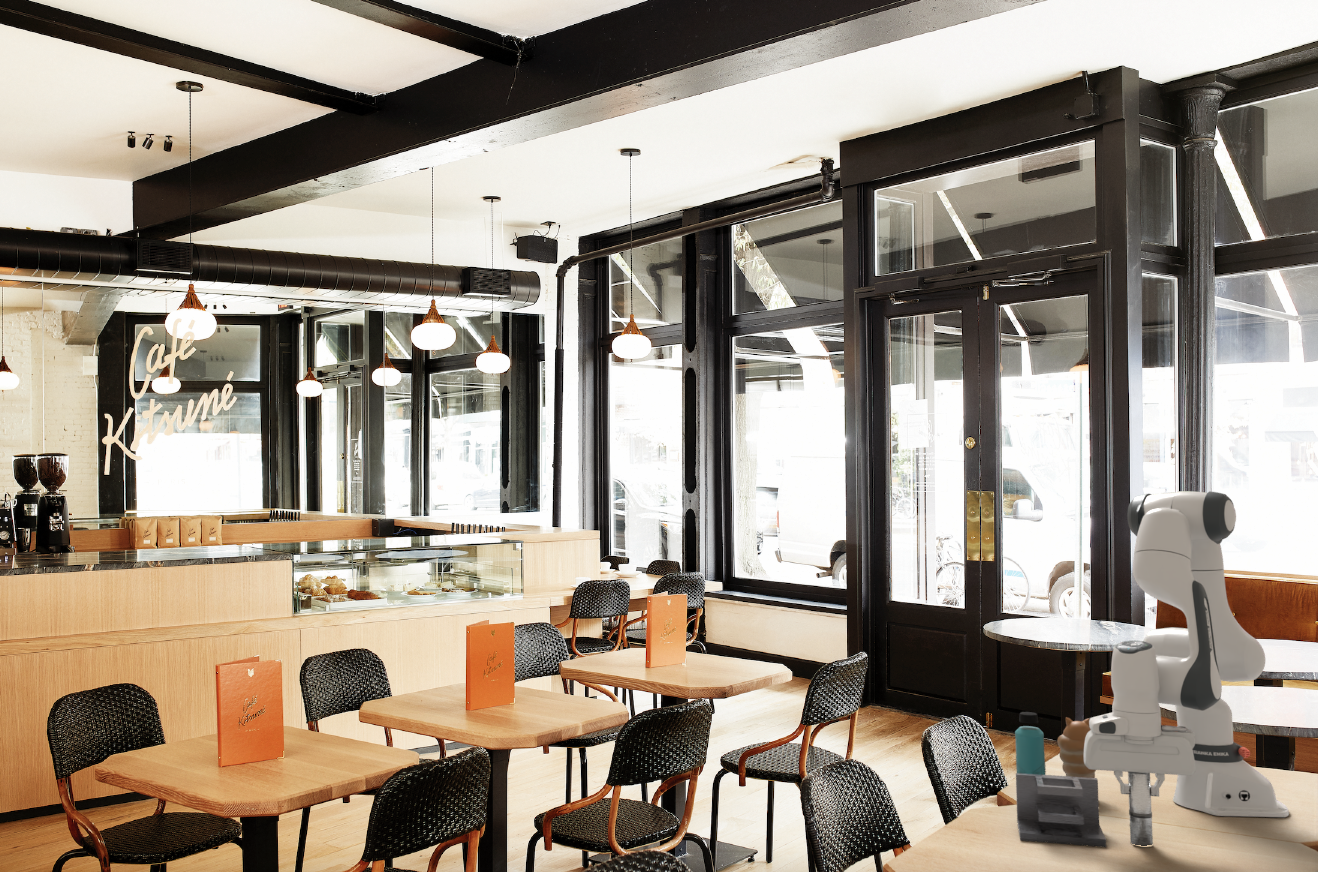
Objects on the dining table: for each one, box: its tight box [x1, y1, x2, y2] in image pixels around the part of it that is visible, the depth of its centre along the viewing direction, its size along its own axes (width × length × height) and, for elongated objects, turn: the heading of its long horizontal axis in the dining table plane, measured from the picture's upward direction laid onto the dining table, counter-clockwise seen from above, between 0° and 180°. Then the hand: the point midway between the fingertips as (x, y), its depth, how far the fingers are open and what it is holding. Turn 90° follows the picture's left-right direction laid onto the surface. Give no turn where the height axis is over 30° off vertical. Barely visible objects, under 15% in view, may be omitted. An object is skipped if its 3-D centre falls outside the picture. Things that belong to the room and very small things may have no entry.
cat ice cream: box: [1057, 716, 1097, 778], centre depth 237 cm, size 9×8×18 cm
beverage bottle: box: [1014, 711, 1047, 775], centre depth 233 cm, size 6×7×20 cm
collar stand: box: [1015, 772, 1107, 848], centre depth 209 cm, size 16×12×10 cm
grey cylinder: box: [1127, 772, 1154, 846], centre depth 203 cm, size 4×4×14 cm
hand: (1139, 794), depth 203 cm, fingers closed on grey cylinder, 4 cm apart
